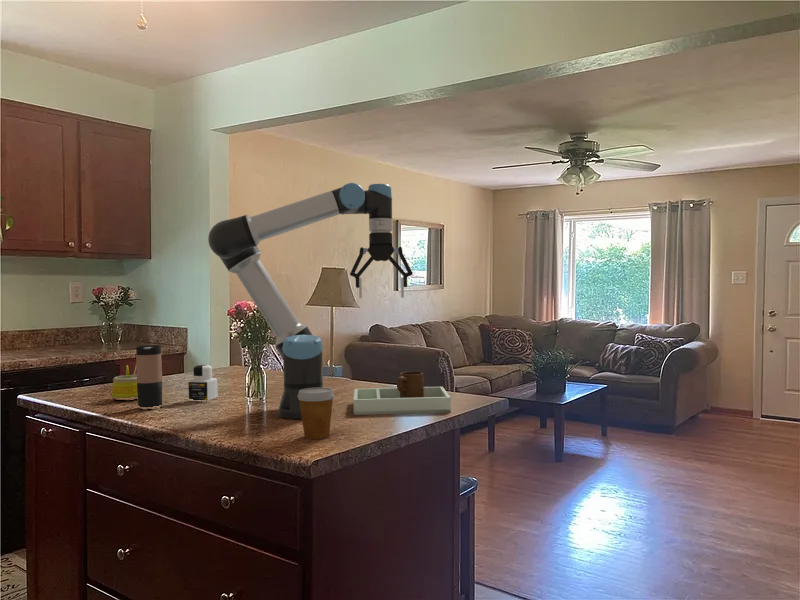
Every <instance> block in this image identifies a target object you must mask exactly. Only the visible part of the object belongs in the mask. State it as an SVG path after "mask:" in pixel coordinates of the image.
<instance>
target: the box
mask: <svg viewBox="0 0 800 600" xmlns="http://www.w3.org/2000/svg"><path fill="white" fill-rule="evenodd" d="M451 402H452V401H451V396H450V395H449V393H448V392H447V391H446V389H445V388H444V386H424V397H422V398H400V391H398V389H397V387H378V388H376V387H375V388H373V387H372V388H371V387H370V388H354V391H353V415H354V416H361V415H363V416H364V415H366V416H370V415H395V414H396V415H401V414H403V415H404V414H434V413H436V414H439V413H441V414H442V413H451V411H452V410H451V409H452V408H451V407H452V406H451Z"/></svg>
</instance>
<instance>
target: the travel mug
mask: <svg viewBox="0 0 800 600" xmlns="http://www.w3.org/2000/svg"><path fill="white" fill-rule="evenodd" d="M135 348H136V349H135V351H136V352H135V354H136V355H135V356H136V357H135V358H136V363H135V364H137V367H136V375H137V393H138V399H137V404H138V405H137V406H140V407H153V406H159V405H162V406H163V370H162V368H163V367H162V366H163V364H162V363H163V361H162V346H161V345H157V344H155V345H154V344H151V345H138V346H136V347H135Z"/></svg>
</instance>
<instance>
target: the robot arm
mask: <svg viewBox="0 0 800 600" xmlns="http://www.w3.org/2000/svg"><path fill="white" fill-rule="evenodd" d="M367 188H368V189H367V190H364V189H363V187H362V186H361V185H360V184H359V183H355V182H348V183H346V184H344V185H343V186H341V187H338V188H336V189H333V190H332V189H331V190H329V191H325V192H322V193H320V194H316V195H314V196H311V197H308V198H305V199H301V200H299V201H295V202H293V203H289V204H285V205H283V206H280V207H277V208H274V209H272V210H267V211H265V212H262V213H261V212H260V213H259V214H256V215H253V216H250V215H248V214H244V215H241V216H238V217H234V218H230V219H225V220H222V221H219V222H217V223H216V224H214V225H213V226H212V227H211V229H210V231H209V233H208V239H207V240H208V241H207V242H208V246H209V248H210V250H211V251H212V252H213V253H214V254H215V255H216V256H217V257H219V258H220V260H221V262H222V264H224V266H225V268H226V269H227V271H228V272H229V273H232V274H236V276H237V278H238V279H239V281H240V283H242V286H243V287H244V289H245V290H246V292H247V293H248V295H249V296H250V298H251V299H252V301H253V302H254V304H255V306H256V308H257V309H258V311H259V312H260V314H261V316H262V317H263V319H264V320H265V321H266V323H267V325H268V326H269V328H270V329H271V331H272V332H273V334H274V335H275V337H276V340H275V347H276V348H277V349H278V352H279V353H280V354H281V356H282V361H283V393H282V395H281V398H280V402H279V405H278V417H280V418H283V419H289V420H290V419H291V420H302V416H301V409H300V402H299V399H298V397H297V395H298V394H299V390H301V389H306V388H324V384H323V383H324V378H323V377H324V376H323V373H324V371H323V370H324V369H323V367H324V365H323V349H324V346H323V340H322V338H320V337H319V336H317V335H313V334H312V332H311V330H310V329H309V327H308V326H307V324H302V323H300V321H299V320H298V318H297V317H296V315H295V314H294V312H293V310H292V309H291V307H290V306H289V304H288V302H287V301H286V299H285V298H284V296H283V295H282V293H281V291H280V290H279V288H278V287H277V285H276V283H275V282H274V280H273V278H272V277H271V276H270V274H269V272H268V271H267V269H266V267H265V266H264V264H263V263H262V261H261V260H260V259H261V253H262V252H261V250H260V249H259V247H258V246H259V244H260V242H261V241H264V240H268V239H271V238H273V237H276V236H279V235H283V234H285V233H288V232H291V231H293V230H294V231H295V230H297V229H301V228H303V227H306V226H309V225H311V224H314V223H317V222H321V221H324V220H328V219H330V218H333V217H335V216H339V215H342V216H343V215H368V230H369V232H370V233H369V234H368V235H369V236H368V242H369V243H368V245H369V247H359V254H358V256H357V259H356V260H355V261H354V262H355V263H354V264H353V267H352V269H351V271H350V273H349V276H351V277H354V279H355V287H356V288H355V289H357V288H358V289H359V290H358V291H359V293H358V294H359V295H358V296H359V299H362V298H363V285H362V284H363V280H362V277H361V275H363V273H364V272H365V270H367V268H368V267H369V266H370V265H371V263H373V261H374V262H380V261H382V262H386V261H389V262H390V263H391V264H392V265H393V267H394V268H396V270H397V271H398V272H399V273H400V274H401V276H402V277H400V298H402V299H403V298H405V290H404V288H407V287H408V277H410V276H413V274H414V273H413V271H412V269H411V267H410V265H409V263H408V261H407V259H406V257H405V255H404V252H403V247H401V246H399V247H394V246H393V233H392V231H393V195H392V193H393V192H392V187H391V185H389V184H388V183H371V184H369V186H368V187H367ZM394 252H395V253H396V255H398V256H399V258H400V260H401V262H402V264H403V266H404V268H405V270H406V271H405V270H404V269H403V268H402V267H401V266H400V264H399V263H398V262H397V261H396V260H395V259H394V258H393V257H392V255H393V254H394ZM366 253H368V254H369V255H370V257H369V258H368V260H367V261H366V262H365V263H364V264H363V265H362V267H361V268H360V270H359V271H358V272H357V269H358V268H359V265H360V263H361V260H362V258H363V257H364V255H366ZM356 272H357V273H356Z"/></svg>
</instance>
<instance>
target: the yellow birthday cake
mask: <svg viewBox="0 0 800 600" xmlns="http://www.w3.org/2000/svg"><path fill="white" fill-rule="evenodd" d="M136 372H137V364H136V363H135V367H134V371H133V374H130V369H129V365H128V364H127V365H125V375H118V376H114V377H113V379H112V385H111V387H112V388H111V397H112V398H113V397H115V398H131V397H138V393H137V374H136Z"/></svg>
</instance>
